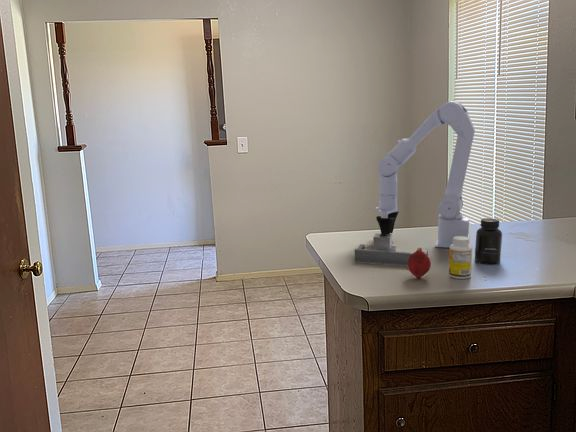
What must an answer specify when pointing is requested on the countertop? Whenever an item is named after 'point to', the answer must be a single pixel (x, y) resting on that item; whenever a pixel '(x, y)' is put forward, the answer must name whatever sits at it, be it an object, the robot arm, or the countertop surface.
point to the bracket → (383, 256)
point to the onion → (419, 263)
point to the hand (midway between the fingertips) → (387, 235)
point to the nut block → (382, 241)
